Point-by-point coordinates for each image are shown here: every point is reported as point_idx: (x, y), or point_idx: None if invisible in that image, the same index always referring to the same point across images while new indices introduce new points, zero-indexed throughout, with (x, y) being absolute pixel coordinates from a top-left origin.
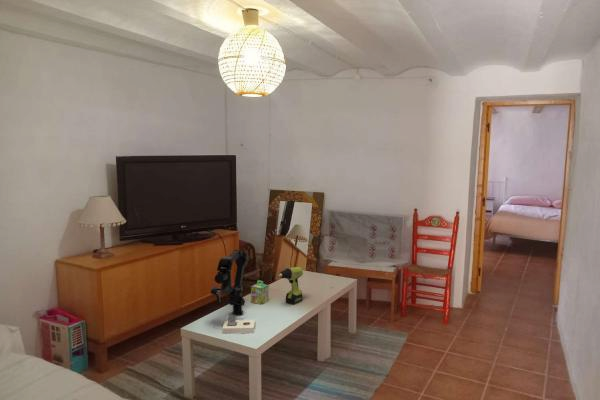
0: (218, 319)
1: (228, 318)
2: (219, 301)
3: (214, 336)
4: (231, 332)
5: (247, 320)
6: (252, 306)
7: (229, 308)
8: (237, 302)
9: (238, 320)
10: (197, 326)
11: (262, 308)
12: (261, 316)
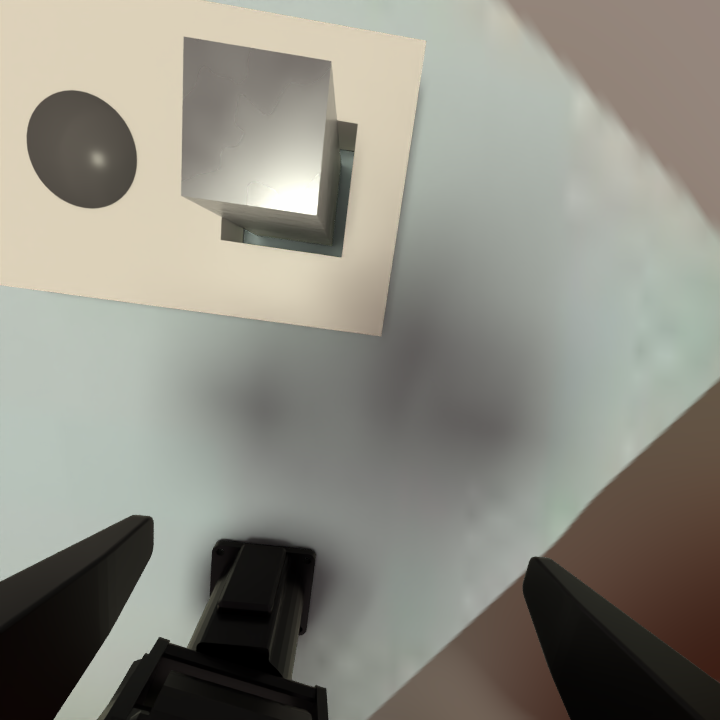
0: (445, 481)
1: (325, 72)
2: (592, 607)
3: (507, 8)
4: None
5: (87, 272)
6: None
7: (341, 696)
8: (183, 688)
9: (210, 297)
10: (661, 346)
11: None
12: (9, 482)
